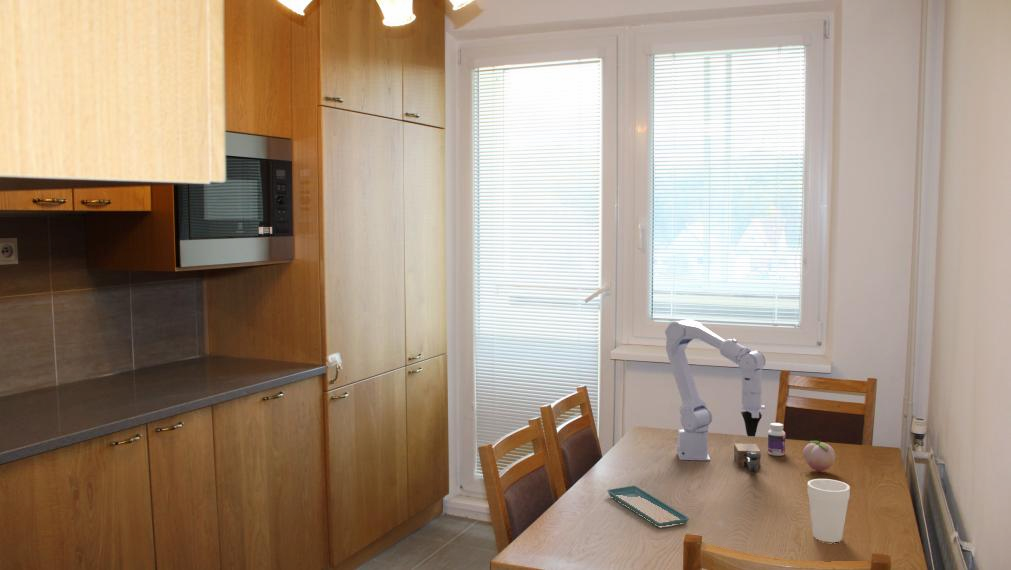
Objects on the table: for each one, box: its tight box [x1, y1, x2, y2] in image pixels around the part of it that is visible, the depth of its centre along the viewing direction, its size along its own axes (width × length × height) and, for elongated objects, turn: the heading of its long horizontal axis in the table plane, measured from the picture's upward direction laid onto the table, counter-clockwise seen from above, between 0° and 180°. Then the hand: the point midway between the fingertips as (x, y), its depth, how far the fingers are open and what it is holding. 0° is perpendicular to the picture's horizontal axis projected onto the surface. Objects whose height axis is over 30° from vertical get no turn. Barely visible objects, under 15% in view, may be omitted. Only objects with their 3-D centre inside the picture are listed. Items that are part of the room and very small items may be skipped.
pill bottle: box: [767, 422, 786, 457], centre depth 263 cm, size 5×5×10 cm
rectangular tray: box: [607, 485, 690, 526], centre depth 214 cm, size 26×9×2 cm, turn 22°
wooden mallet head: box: [733, 443, 761, 468], centre depth 254 cm, size 7×8×5 cm
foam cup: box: [806, 478, 851, 542], centre depth 194 cm, size 10×9×13 cm
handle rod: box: [744, 451, 762, 474], centre depth 249 cm, size 4×18×6 cm, turn 173°
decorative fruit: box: [802, 439, 836, 473], centre depth 244 cm, size 9×8×10 cm
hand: (751, 435), depth 247 cm, fingers closed
